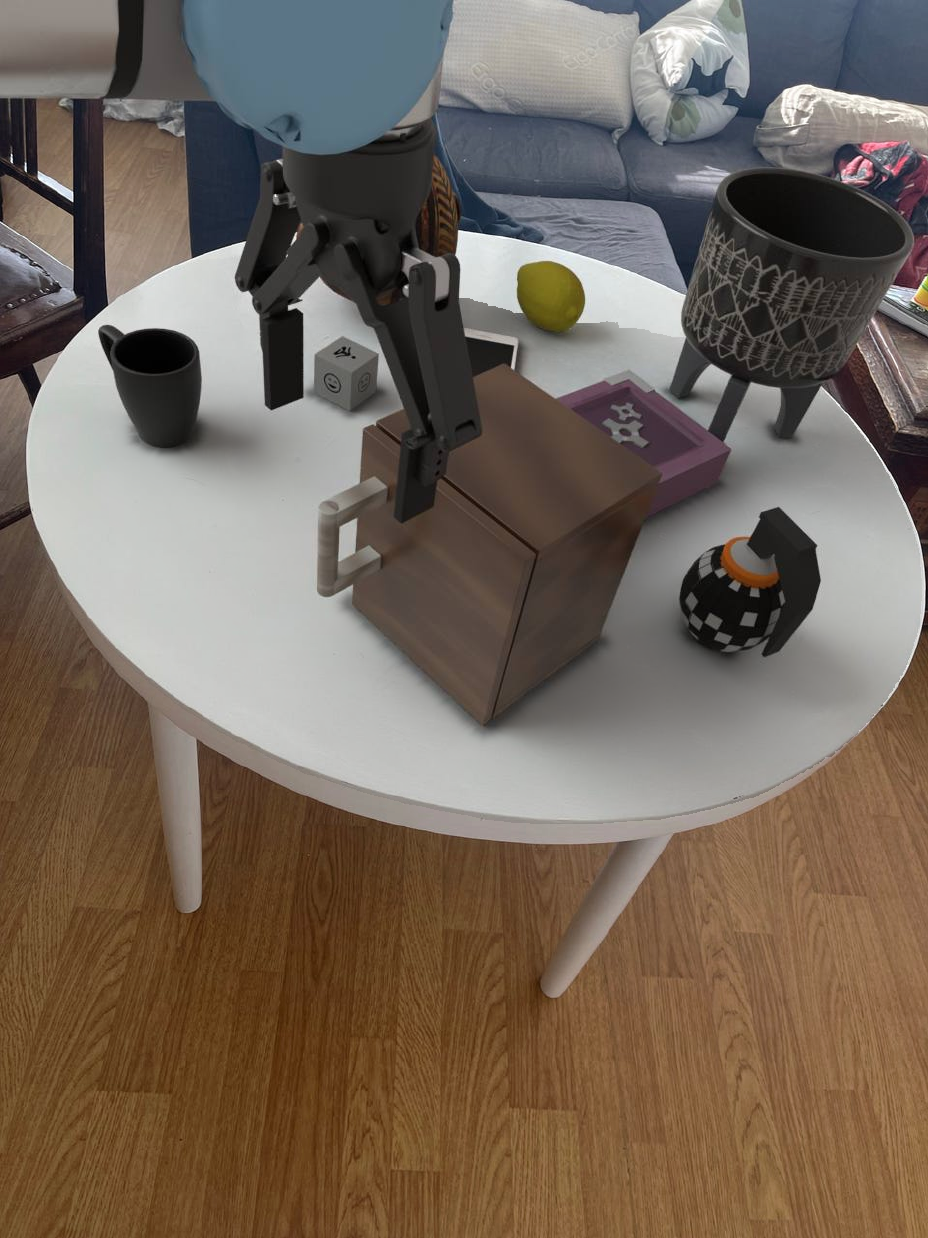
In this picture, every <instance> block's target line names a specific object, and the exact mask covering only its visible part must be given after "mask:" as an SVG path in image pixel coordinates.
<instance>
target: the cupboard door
mask: <svg viewBox="0 0 928 1238" xmlns="http://www.w3.org/2000/svg"><path fill="white" fill-rule="evenodd" d="M361 437H362V438H361V451H360V452H361V453H360V471H359V483H358V484H356V485H353V486H352V487H350V488H348V489H345V490H344V491H342V492H339V493H338V494H335V495H333V496H331V497H329V498H327V499H325V500H323V501H321V502H320V503H319V505H318V508H317V509H318V510H317V556H316V557H317V558H316V560H317V561H316V592H317V593H318V595H319V596H321V597H323V598H331V597H333V596H336V595H337V594H339V593H341V592H342V591H344V590H346V589H348V588H349V587H351V586H352V596H351V597H352V598H351V604H352V606H353V607H355V609H357V610H358V611H359V612H360V613H361V614H362V615H363V616H364V617H365V618H366V619H368V621H369V622H370V623H371V624H373V626H375V627H376V628H377V629H378V630H379V631H380V632H381V633H382V634H383V635H385V636H386V638H387V639H389V640H390V641H391V642H392V643H393V644H394V645H395V646H396V647H397V648H398V649H399V650H401V651H402V652H403V654H405V655H406V656H407V657H408V658H409V659H410V660H411V661H412V662H413V663H414V664H416V666H417V667H419V668H420V669H421V670H422V671H423V672H424V673H425V674H426V675H427V676H428V677H429V678H431V680H433V681H434V683H436V684H437V685H438V686H439V687H440V688H441V689H442V690H443V691H444V692H446V694H448V696H450V698H452V699H453V701H455V702H456V703H457V704H458V705H459V706H460V707H461V708H462V709H463V710H464V711H466V712H467V713H468V714H469V715H470V716H471V717H472V718H473V719H474V720H475V721H476V722H478V723H479V725H480V726H484V725H485V724H487V723H488V722H489V721H491V720H492V718H491V716H492V712H493V709H494V705H495V701H496V698H497V694H498V691H499V687H500V683H501V680H502V676H503V672H504V669H505V665H506V662H507V658H508V654H509V651H510V647H511V644H512V640H513V636H514V633H515V629H516V625H517V622H518V618H519V615H520V611H521V607H522V604H523V600H524V596H525V593H526V589H527V586H528V582H529V578H530V575H531V571H532V568H533V564H534V560H535V557H536V554H535V553H534V552H533V551H531V550H530V549H529V548H528V547H526V546H525V545H524V544H523V543H521V542H520V541H519V540H518V539H516V538H515V537H514V536H513V535H511V534H510V533H509V532H508V531H506V530H505V529H504V528H503V527H501V526H500V525H499V524H498V523H496V522H495V521H494V520H493V519H491V518H490V517H489V516H488V515H486V514H485V513H484V512H483V511H481V510H480V509H479V508H478V507H476V506H475V505H474V504H473V503H471V502H470V501H469V500H468V499H466V498H465V497H464V496H463V495H461V494H460V493H459V492H458V491H456V490H455V489H454V488H453V487H451V486H450V485H449V484H448V483H446V482H445V481H444V480H443V479H440V480H438V481H437V487H436V494H435V501H434V507H432V508H431V509H429V510H427V511H425V512H423V513H421V514H419V515H417V516H415V517H413V518H412V519H410V520H408V521H406V522H404V523H402V524H401V523H400V522H399V521H398V520H396V519H395V518H394V508H395V498H396V488H397V477H398V467H399V457H400V447H401V446H400V445H399V444H397V443H396V442H395V441H394V440H392V439H391V438H390V437H389V436H387V435H386V434H385V433H384V432H382V431H381V430H380V429H379V428H377V427H376V424H374V423H372V424H369V425H367V426H365V427H363V428H362V436H361ZM355 519H356V531H355V533H356V534H355V549H354V553H352V554H351V555H348V556H347V557H345V558H343V559H341V560H339V552H340V551H339V550H340V532H341V531H340V530H341V529H340V528H341V527H342V526H343V525H346V524H349V523H350V522H352V521H353V520H355Z"/></svg>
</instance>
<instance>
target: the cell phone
mask: <svg viewBox="0 0 928 1238" xmlns="http://www.w3.org/2000/svg"><path fill="white" fill-rule="evenodd" d="M464 332H465V338H466V343H467V349H468V354H469V359H470V365H471V370H472V376H473V377H475V376H477V375H479V374H482V373H484V372H486V371H488V370H491V369H493V368H495V367H497V366H499V365H502V364H506V365H508V366H509V367H510V368H512V369H513V370H515V369H516V363H517V354H518V348H519V338H518V337H514V336H510V335H505V334H499V333H493V332H490V331H489V332H488V331H483V330H477V329H473V328H467V327H464Z"/></svg>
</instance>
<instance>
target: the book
mask: <svg viewBox="0 0 928 1238" xmlns="http://www.w3.org/2000/svg"><path fill="white" fill-rule="evenodd" d="M555 399H557V400H558V401H559V402H561V403H562V404H564V405H565V406H567V407H568V408H569V409H571V410H572V411H574V412H575V413H577V414H578V415H580V416H581V417H582V418H584V419H585V420H587V421H588V422H590V423H591V424H593V425H594V426H595V427H597V428H598V429H600V430H601V431H603V432H604V433H606V434H607V435H608V436H610V437H611V438H613V439H614V440H616V441H617V442H619V443H620V444H621V445H623V446H624V447H626V448H627V449H629V450H630V451H631V452H633V453H634V454H636V455H637V456H639V457H640V458H642V459H643V460H644V461H646V462H647V463H649V464H650V465H652V466H653V467H655V468H656V469H657V470H659V471H660V472H662V473H663V474H662V477H661V479H660V482H659V484H658V487H657V490H656V492H655V495H654V497H653V500H652V502H651V505H650V508H649V510H648V513H647V515H646V518H647V519H648V518H649V517H651V516H653V515H655V514H657V513H659V512H661V511H664V510H665V509H667V508H670V507H671V506H673V505H675V504H677V503H680V502H681V501H683V500H686V499H687V498H690V497H691V496H693V495H696V494H697V493H700V492H702V491H704V490H706V489H708V488H710V487H712V486H715V485H716V484H717V483H718V481H719V479H720V476H721V474H722V472H723V470H724V468H725V466H726V464H727V462H728V459H729V457H730V455H731V453H732V450H733V449H732V448H731V447H730V446H728V445H727V444H726V443H725V442H722V441H721V440H719V439H718V438H717V437H715V436H714V435H713V434H711V433H710V432H709V431H708V429H707V428H705V427H704V426H703V425H701V424H700V423H698V422H697V421H696V420H694V419H693V418H692V417H690V416H689V415H688V414H687V413H686V412H684V411H683V410H681V409H680V408H679V407H677V406H676V405H674V403H672V402H671V401H670V400H668V399H667V398H665V397H664V396H663V395H662V394H660V393H659V392H658V391H656V388H655V387H653V386H652V385H650V383H648V382H647V381H645V380H644V379H643V378H641V377H640V376H639V375H638V374H636V373H635V372H633V371H632V370H631V369H626V370H624V371H621V372H619V373H616V374H614V375H611V376H608V377H606V378H603V380H602V381H599V382H596V383H593V384H590V385H588V386H586V387H583V388H580V389H578V390H575V391H572V392H569V393H566V394H564V395H561V396H559V397H558V396H557V397H555ZM646 518H645V519H646Z"/></svg>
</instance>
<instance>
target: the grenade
mask: <svg viewBox="0 0 928 1238" xmlns="http://www.w3.org/2000/svg"><path fill="white" fill-rule="evenodd" d="M758 518H759V520H758V522H757V524H756V526H755V528H754V530H753V531H752V533H751V535H750V536H737V537H734V538H731V539H729V540H728V541H726V543H724V544H720V545H716V546H713V547H711V548H709V549H708V550H706V551H704V552H703V553H702V554H701V555H700V556H699V557H698V558H697V559H695V560H694V562H693V563H692V565H691V566H690V567H689V569H688V570H687V572H686V573H685V575H684V577H683V579H682V582H681V585H680V589H679V595H678V604H679V612H680V616H681V620H682V621H683V623H684V625H685V626H686V628H687V630H688V631H689V633H690V635H691V636H692V637H693V638H694V640H695V641H696V642H697V643H698V644H699V645H700V646H703V647H704V648H706V649H708V650H710V651H713V652H717V653H725V652H726V653H733V652H734V653H735V652H741V651H742V652H743V651H747V650H748V651H749V650H751V649H753V648H755V647H757V646H759V645H762V643H764V642H766V641H767V642H766V643H765V646H764V648H763V650H762V652H761V656H762V657H763V658H766V657H769V656H772V655H775V654H777V653H780V652H781V650H782V649H783V648H784V647H785V645H786V644H787V642H788V641H789V640H790V639H791V637H792V636H793V635H794V634H795V632H796V631H797V630H798V629H799V627H800V626H801V625H802V624H803V622H804V621H805V620H806V619H807V617H808V616H809V615H810V614H811V612H812V611H813V609H814V606H815V603H816V599H817V596H818V592H819V589H820V586H821V582H822V579H821V573H820V567H819V562H818V561H819V560H818V555H817V547H818V546H819V545H818V544H817V543H816V542H815V541H814V540H813V539H812V538H811V537H810V536H809V535H808V534H807V533H806V532H805V531H804V530H803V529H802V528H801V527H800V526H799V525H798V524H797V522H795V521H794V520H793V519H792V517H790V516H789V515H788V514H787V513H786V512H785V511H784V510H783V509H782V508H781V507H780V506H777V507H773V508H769V509H766V510H764V511H760V513H759V515H758Z"/></svg>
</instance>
